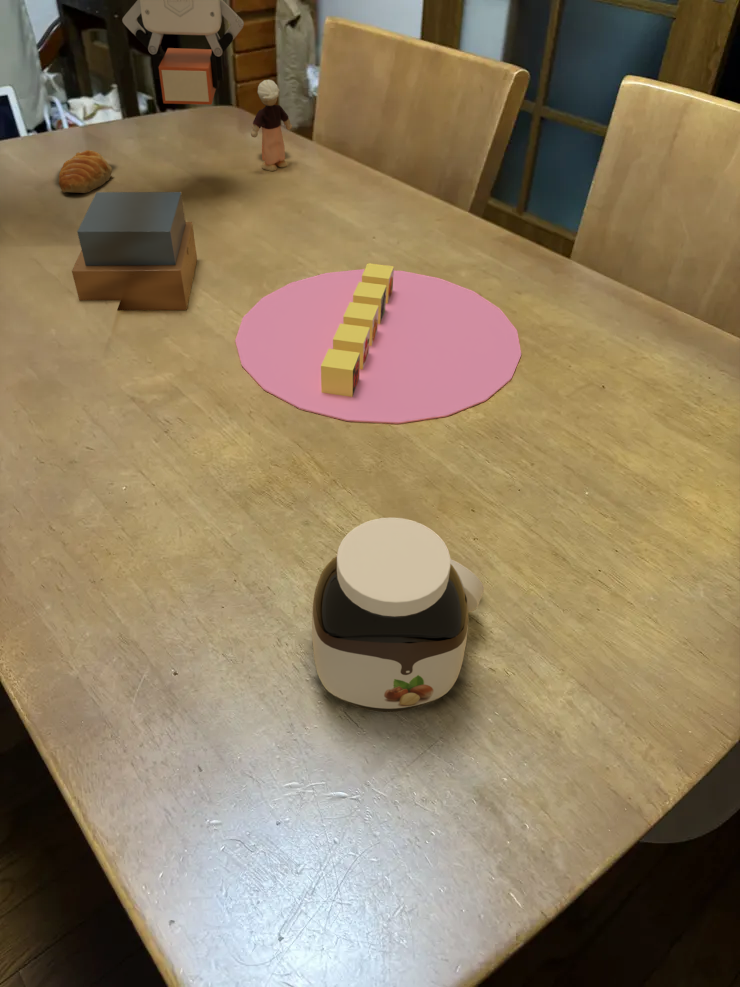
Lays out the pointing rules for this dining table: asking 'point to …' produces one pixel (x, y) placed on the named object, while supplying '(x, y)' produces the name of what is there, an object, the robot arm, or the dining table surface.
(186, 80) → the orange box
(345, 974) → the dining table surface
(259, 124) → the grandmother figurine
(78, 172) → the pastry
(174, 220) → the box stack
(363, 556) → the spread jar
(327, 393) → the platter
